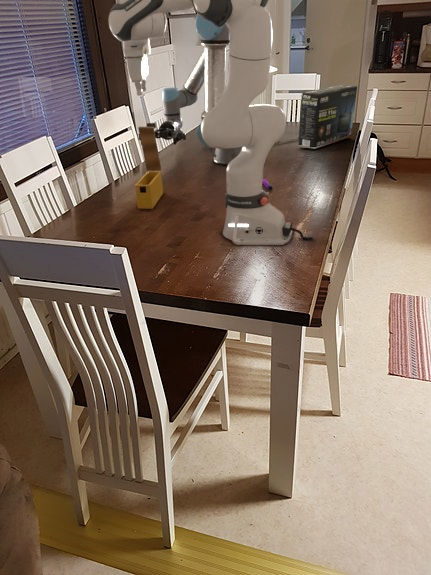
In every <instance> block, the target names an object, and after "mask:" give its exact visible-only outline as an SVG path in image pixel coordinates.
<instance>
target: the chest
mask: <svg viewBox="0 0 431 575" xmlns="http://www.w3.org/2000/svg"><path fill="white" fill-rule="evenodd" d="M134 188H135V197H136V204H137V209H146V210H147V209H149V210H150V209H151V210H153V209H154V208H155V207H156V205H157V203H158V202H159V200H160V199H161V197H162V196H163V194H164V188H163V178H162V170H161V171H147V170H146V172H145V173H144V174H143V175H142V177H141V178H140V179H139V180H138V181H137V182H136V183H135V185H134Z"/></svg>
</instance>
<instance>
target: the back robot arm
mask: <svg viewBox="0 0 431 575" xmlns="http://www.w3.org/2000/svg"><path fill="white" fill-rule="evenodd" d="M195 30H196V33H197V34H198V36H199V37H200V45H201V46H202V47H203V49H202V51H201V52H200V54H199V56H198V58H197V60H196V62H195V63H194V65H193V67H192V69H191V70H190V72H189V74H188V76H187V78H186V79H185V81H184V84H183V85H182V87H181V88H180V89H179V88H178V87H166V88H163V89H162V91H161V96H162V97H161V100H162V108H163V119H164V121H163V122H162V123H161V124H160V125H159V127H158V129H154V131H155V137H156V140H157V139H158V140H159V139H163V140H165V141H170V140H172V142H173V145H177V143H178V142H180V141H182V140H183V141H186V140H187V135H186V134H187V133H186V132H184V131H183V130H182V127H183V119H182V117H181V109H182V108H185V107H189V106H192V105H194V104H196V102H197V101H198V96H199V92H200V91H201V89H202V87H203V86H204V110H203V111H202V112H201V115H200V116H201V120H200V123H199V124H198V126H197V129H196V135H197V136H196V137H197V139H198V140H199V142H200V143H201V144H202V145H203V147H206V148H208V149H209V148H210V149H212V148H211V147H209V146H208V145H207V144H206V143H205V141H204V140H203V137H202V134H201V124H202V121H203V118H204V117H205V115H206V114H207V113H208V112H209V111H211V110H212V109H213V108H214V106H215V105H216V104H217V102H218V101H219V99H220V98H221V96H222V94H223V91H224V89H225V85H226V56H227V55H226V54H227V50H226V49H227V47H229V46H230V32H229V29H228V27H227V25H226V24H224V25H223V26H221V27H217V26H216V25H214V24H213V23H212V22H210V21H208V20H205V19H203V18H202V17H200V16H199V15H198V14H196V17H195ZM137 135H138V136H137V137H138V141H141V139H140V134H139V133H138V134H137ZM140 145H141V146H142V144H141V143H140ZM241 150H242V147H237V148H229V149H218V148H215V150H214V153H213V154H212V158H213V163H214V164H216V165H219V166H228V164H229V163H230V161H232V160H233V159H234V158H236V157H237V156H238V155H239V153H240V152H241Z"/></svg>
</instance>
